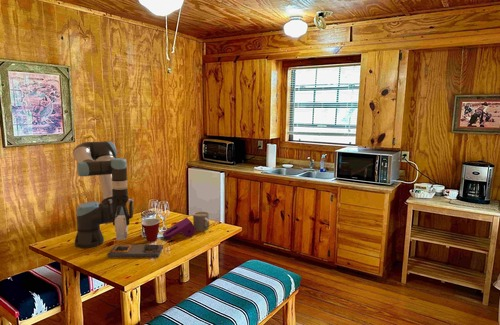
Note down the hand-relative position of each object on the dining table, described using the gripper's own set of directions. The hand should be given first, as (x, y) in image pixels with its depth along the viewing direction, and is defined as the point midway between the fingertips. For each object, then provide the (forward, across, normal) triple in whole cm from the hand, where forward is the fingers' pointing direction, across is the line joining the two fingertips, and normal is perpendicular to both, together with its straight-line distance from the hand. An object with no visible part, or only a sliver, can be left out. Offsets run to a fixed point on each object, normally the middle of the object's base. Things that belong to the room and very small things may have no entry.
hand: (121, 230), depth 182 cm
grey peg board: (+12, +7, 0) cm, 14 cm away
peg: (+4, 0, 0) cm, 4 cm away
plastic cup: (+12, +11, +17) cm, 24 cm away
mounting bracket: (+13, +26, +25) cm, 38 cm away
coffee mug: (+12, +39, +36) cm, 55 cm away
